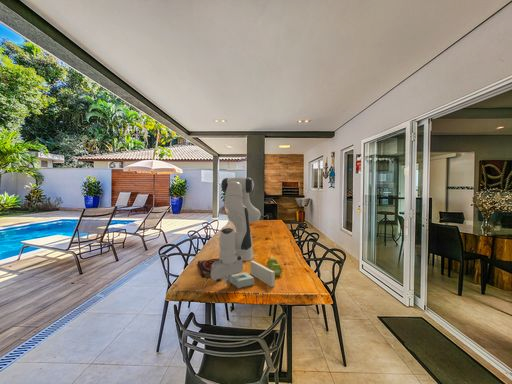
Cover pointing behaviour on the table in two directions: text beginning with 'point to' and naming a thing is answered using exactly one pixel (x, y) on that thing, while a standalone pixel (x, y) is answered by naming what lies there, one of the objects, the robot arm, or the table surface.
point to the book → (206, 267)
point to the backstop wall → (262, 273)
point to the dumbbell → (274, 266)
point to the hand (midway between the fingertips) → (227, 283)
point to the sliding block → (242, 280)
